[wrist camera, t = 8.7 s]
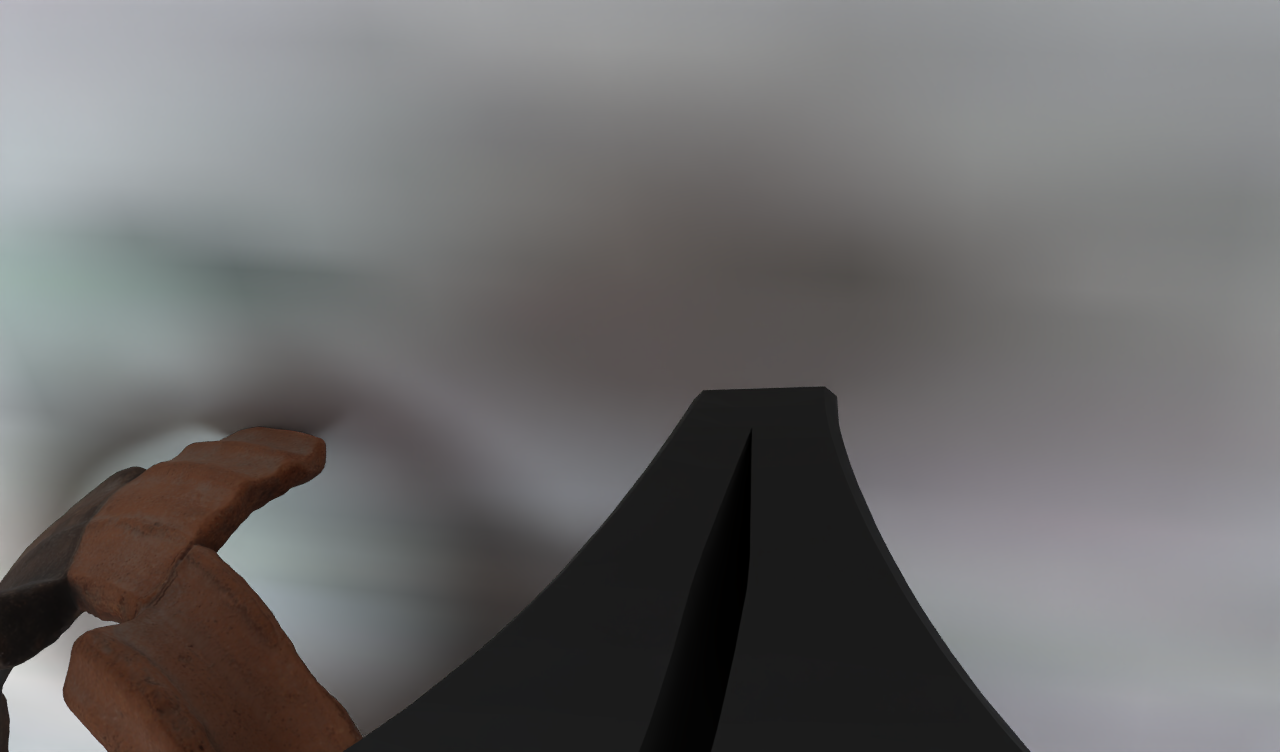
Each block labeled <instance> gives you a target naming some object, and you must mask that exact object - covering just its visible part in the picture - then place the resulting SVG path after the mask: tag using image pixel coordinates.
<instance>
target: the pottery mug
mask: <svg viewBox="0 0 1280 752" xmlns="http://www.w3.org/2000/svg"><path fill="white" fill-rule="evenodd" d="M325 463H326V444H325V442H324V440H323V439H321V438H318V437H315V436H313V435H309V434H305V433H302V432H297V431H291V430H282V429H273V428H266V427H253V428H248V429H243V430H240V431H237V432H236V433H234V434H232V435H230V436H228V437H226V438H224V439H221V440H219V441H208V442H198V443H193V444H190V445H188V446H187V447H186V448H185V449H184V450H183V451H182V452H181V453H180V454H179V455H178V456H176V457H175V458H173V459H172V460H170V461H166V462H161V463H158V464H156V465H153V466H152V467H150V468H149V469H147V470H146V469H144V468H141V467H130V468H127V469H124V470H121V471H119V472H116V473H115V474H113V475H112V476H110V477H109V478H108V479H106V480H105V481H104V482H103V483H101V484H100V485H99V486H98V487H96V488H95V489H94V490H92V491H91V492H90V493H89V494H87V495H86V496H85V497H84V498H83V499H81V500H80V501H79V502H78V503H76V504H75V505H74V506H72V507H71V508H70V509H69V510H68V511H67V512H66V513H65V514H64V515H63V516H62V517H61V518H59V519H58V520H57V521H56V522H55V523H53V524H52V525H51V526H50V527H48V528H47V529H46V530H45V531H44V532H43V533H42V534H41V535H40V536H39V537H38V538H37V539H36V540H35V541H34V542H33V543H32V544H31V545H30V546H28V547H27V549H26V550H25V551H24V552H23V553H22V555H21V556H20V557H19V559H18V560H17V561H16V562H15V563H14V565H13V566H12V567H11V569H10V570H9V572H8V573H7V575H6V576H5V577H4V578H3V580H2V581H1V582H0V752H9V751H8V741H9V732H10V731H9V724H10V718H9V713H8V707H7V700H6V698H5V696H4V694H3V693H2V688H3V684H4V683H5V681H6V679H7V677H8V675H9V673H10V672H11V670H12V668H13V667H14V666H17V665H19V664H22V663H24V662H25V661H27V660H29V659H30V658H32V657H34V656H35V655H37V654H38V653H39V652H40V651H42V650H43V649H45V648H46V647H48V646H49V645H51V644H53V643H54V642H55V641H56V640H57V639H58V638H59V637H60V635H61V634H62V633H64V632H65V631H66V630H67V629H68V628H69V627H70V626H71V625H72V623H73V622H74V621H75V620H76V619H77V618H78V617H79V616H80V615H81V614H82V613H83V612H86V611H87V612H88V613H89V614H93V615H94V616H95V617H98V618H100V619H101V620H103V621H114V622H118V623H120V624H118V625H110V626H105V627H100V628H96V629H93V630H90V631H87V632H85V633H84V634H83V635H81V636H80V637H79V638H78V639H77V640H76V641H75V642H74V644H73V647H72V651H71V658H70V663H69V667H68V672H67V675H66V679H65V683H64V687H63V697H64V701H65V703H66V704H67V706H68V707H69V709H70V710H71V711H72V712H73V713H74V715H75V716H76V717H77V718H78V719H79V720H80V721H81V723H82V724H83V725H84V726H85V727H86V728H87V729H88V730H89V731H90V732H91V734H92V735H93V736H94V737H95V738H96V739H97V740H98V741H99V742H100V743H101V744H102V745H103V746H104V748H105V749H106V750H107V751H108V752H343V751H344V750H346V749H347V748H349V747H350V746H352V745H353V744H355V743H357V742H358V741H360V740H361V739H363V737H362V735H361V734H360V732H359V730H358V729H357V727H356V726H355V724H354V723H353V721H352V719H351V718H350V716H349V714H348V713H347V711H346V709H345V708H344V707H343V706H342V705H341V704H340V703H339V702H338V701H337V700H336V699H335V698H334V697H333V696H332V695H330V694H329V693H328V692H327V690H326V689H325V688H324V687H322V686H321V685H320V684H319V683H318V682H317V680H316V679H315V677H314V676H313V675H312V674H311V673H310V671H309V670H308V668H307V667H306V665H305V664H304V662H303V661H302V660H301V658H300V657H299V655H298V654H297V652H296V650H295V647H294V645H293V643H292V642H291V640H290V639H289V637H288V636H287V635H286V634H285V632H284V631H283V630H282V628H281V627H280V625H279V623H278V621H277V620H276V618H275V616H274V615H273V613H272V612H271V611H270V609H269V608H268V607H267V606H266V604H265V603H264V602H263V601H262V599H261V598H260V597H259V596H258V594H257V593H256V592H255V591H254V590H253V589H252V588H251V587H250V586H249V585H248V583H247V582H246V581H245V580H244V578H243V577H241V576H240V575H239V574H238V573H236V572H235V571H234V570H233V569H232V568H231V567H230V566H229V565H228V564H227V563H225V562H224V561H223V560H222V559H221V558H220V557H219V555H218V554H217V552H218V550H219V549H220V548H221V547H222V546H223V545H224V544H225V543H226V541H227V540H228V539H229V537H230V536H231V535H232V534H233V533H234V532H235V530H236V529H237V528H238V527H239V525H240V524H241V523H242V522H244V521H245V520H246V519H247V518H248V516H249V515H250V514H251V513H252V512H253V511H255V510H257V509H259V508H261V507H263V506H264V505H265V504H267V503H268V502H269V501H271V500H273V499H275V498H277V497H279V496H282V495H284V494H285V493H286V492H287V491H288V490H289V489H290V488H293V487H296V486H299V485H301V484H304V483H306V482H309V481H310V480H312V479H313V478H315V477H316V476H317V475H319V474H320V473H321V472H322V470H323V469H324V466H325Z"/></svg>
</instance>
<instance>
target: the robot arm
mask: <svg viewBox="0 0 1280 752" xmlns="http://www.w3.org/2000/svg"><path fill="white" fill-rule="evenodd" d="M343 752H1030V751H1029V749H1028V748H1027V747H1026V746H1025V745H1024V743H1023V742H1022V741H1021V740H1020V739H1019V738H1018V736H1017V735H1016V734H1015V733H1014V732H1013V730H1012V729H1011V728H1010V727H1009V726H1008V725H1007V723H1006V722H1005V721H1004V720H1003V719H1002V717H1001V716H1000V715H999V714H998V713H997V711H996V710H995V709H994V708H993V707H992V706H991V704H990V703H989V702H988V701H987V700H986V698H985V697H984V696H983V695H982V693H981V692H980V691H979V689H978V688H977V687H976V685H975V684H974V683H973V681H972V680H971V679H970V677H969V676H968V674H967V673H966V672H965V670H964V669H963V668H962V666H961V665H960V664H959V662H958V661H957V660H956V658H955V657H954V655H953V654H952V653H951V651H950V650H949V648H948V647H947V645H946V644H945V642H944V641H943V639H942V638H941V636H940V635H939V633H938V632H937V631H936V629H935V628H934V626H933V625H932V623H931V622H930V620H929V619H928V617H927V615H926V614H925V612H924V611H923V609H922V607H921V606H920V604H919V603H918V601H917V599H916V598H915V596H914V594H913V593H912V591H911V589H910V588H909V586H908V584H907V583H906V581H905V579H904V577H903V575H902V574H901V572H900V570H899V568H898V566H897V564H896V563H895V561H894V559H893V557H892V555H891V554H890V552H889V550H888V548H887V546H886V544H885V542H884V540H883V538H882V536H881V534H880V532H879V530H878V528H877V526H876V524H875V522H874V519H873V517H872V515H871V513H870V510H869V508H868V506H867V504H866V501H865V499H864V497H863V495H862V492H861V490H860V488H859V486H858V483H857V481H856V478H855V475H854V473H853V470H852V468H851V465H850V462H849V459H848V455H847V452H846V449H845V446H844V443H843V439H842V435H841V432H840V427H839V419H838V405H837V396H836V395H835V394H833V393H832V392H831V391H830V390H829V389H827V388H826V387H794V388H762V389H731V390H703V391H702V392H701V393H700V394H699V395H698V396H697V397H696V398H695V399H694V400H693V402H692V403H691V405H690V407H689V408H688V410H687V411H686V413H685V414H684V416H683V417H682V419H681V420H680V422H679V423H678V425H677V426H676V427H675V429H674V430H673V432H672V433H671V435H670V436H669V438H668V439H667V441H666V442H665V443H664V445H663V446H662V448H661V449H660V450H659V452H658V453H657V455H656V456H655V457H654V459H653V460H652V462H651V463H650V464H649V466H648V467H647V468H646V470H645V471H644V472H643V474H642V475H641V476H640V478H639V479H638V480H637V481H636V483H635V484H634V485H633V487H632V488H631V489H630V490H629V492H628V493H627V494H626V496H625V497H624V498H623V499H622V501H621V502H620V503H619V505H618V506H617V507H616V508H615V510H614V511H613V512H612V514H611V515H610V516H609V517H608V518H607V520H606V521H605V522H604V523H603V525H602V526H601V527H600V528H599V529H598V530H597V531H596V533H595V534H594V535H593V536H592V537H591V538H590V539H589V541H588V542H587V543H586V544H585V545H584V546H583V547H582V548H581V550H580V551H579V552H578V553H577V554H576V555H575V556H574V558H573V559H572V560H571V561H570V562H569V563H568V564H567V565H566V567H565V568H564V569H563V570H562V571H561V572H560V573H559V574H558V575H557V576H556V578H555V579H554V580H553V581H552V582H551V583H550V584H549V585H548V586H547V587H546V588H545V589H544V590H543V591H542V592H541V593H540V594H539V595H538V596H537V597H536V598H535V599H534V600H533V601H532V602H531V603H530V604H529V605H528V606H527V607H526V608H525V609H524V610H523V611H522V612H521V613H520V614H519V615H518V616H517V617H516V618H514V619H513V620H512V621H511V622H510V623H509V624H508V625H507V626H506V627H505V628H504V629H503V630H502V631H501V632H499V633H498V634H497V635H496V636H495V637H494V638H493V639H492V640H491V641H490V642H488V643H487V644H486V645H485V646H484V647H483V648H481V649H480V650H479V651H478V652H477V653H475V654H474V655H473V656H472V657H471V658H469V659H468V660H467V661H466V662H464V663H463V664H462V665H460V666H459V667H458V668H457V669H455V670H454V671H453V672H452V673H450V674H449V675H448V676H447V677H445V678H444V679H443V680H442V681H440V682H439V683H438V684H437V685H435V686H434V687H433V688H432V689H430V690H429V691H428V692H427V693H425V694H424V695H423V696H421V697H420V698H419V699H418V700H416V701H415V702H414V703H412V704H411V705H410V706H408V707H407V708H406V709H404V710H403V711H401V712H400V713H399V714H397V715H396V716H394V717H393V718H391V719H390V720H389V721H387V722H386V723H384V724H383V725H381V726H380V727H379V728H377V729H376V730H374V731H373V732H371V733H370V734H369V735H367V736H366V737H364V738H363V739H361V740H360V741H358V742H357V743H355V744H353V745H352V746H350V747H349V748H347V749H346V750H344V751H343Z"/></svg>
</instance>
